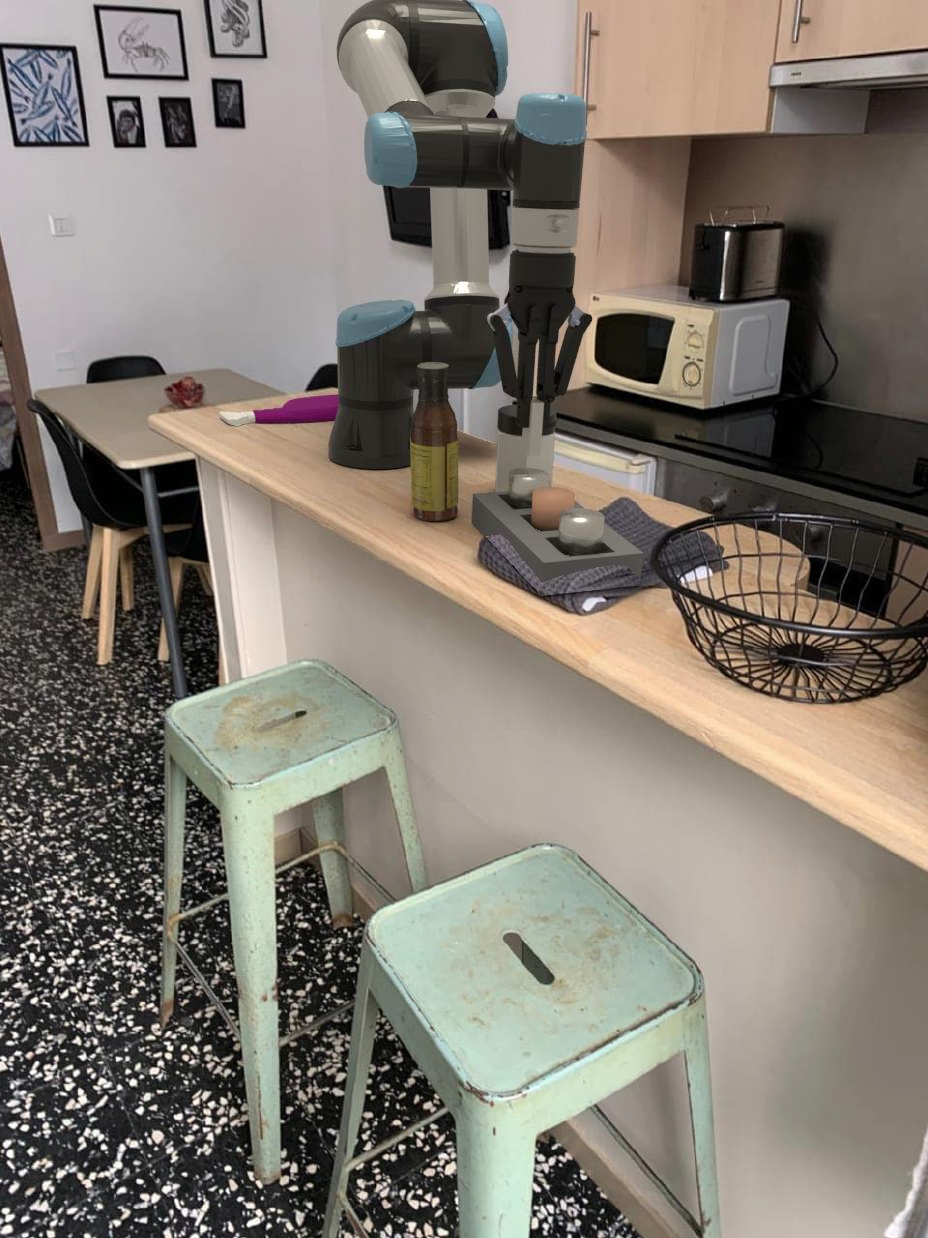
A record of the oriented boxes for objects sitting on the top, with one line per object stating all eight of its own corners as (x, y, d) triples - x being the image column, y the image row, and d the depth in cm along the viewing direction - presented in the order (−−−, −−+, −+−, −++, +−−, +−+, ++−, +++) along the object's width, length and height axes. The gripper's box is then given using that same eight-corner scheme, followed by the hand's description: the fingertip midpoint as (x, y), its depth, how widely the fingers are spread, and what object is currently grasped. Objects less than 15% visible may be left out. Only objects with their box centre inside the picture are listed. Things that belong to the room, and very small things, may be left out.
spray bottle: (365, 420, 172) (234, 434, 161) (343, 407, 180) (217, 420, 170) (365, 404, 170) (232, 417, 160) (343, 391, 179) (215, 404, 168)
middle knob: (524, 519, 114) (526, 488, 112) (562, 516, 115) (564, 485, 114) (540, 533, 110) (542, 501, 108) (579, 530, 111) (582, 498, 109)
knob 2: (550, 543, 107) (552, 509, 105) (589, 539, 108) (592, 506, 107) (567, 559, 103) (570, 524, 101) (608, 555, 104) (612, 521, 102)
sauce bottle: (445, 505, 129) (448, 358, 120) (466, 519, 124) (471, 367, 115) (401, 511, 126) (402, 360, 117) (421, 526, 121) (423, 370, 112)
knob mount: (471, 523, 122) (472, 493, 121) (556, 516, 126) (558, 487, 124) (541, 596, 102) (543, 562, 100) (639, 586, 105) (643, 553, 104)
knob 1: (502, 499, 121) (503, 469, 119) (537, 496, 122) (539, 466, 120) (515, 511, 116) (517, 480, 115) (552, 508, 118) (555, 478, 116)
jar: (553, 505, 130) (559, 419, 125) (494, 503, 130) (498, 417, 125) (548, 485, 138) (554, 404, 133) (493, 483, 138) (497, 402, 133)
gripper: (500, 251, 101) (491, 464, 111) (609, 252, 105) (591, 458, 115) (478, 246, 107) (471, 447, 117) (581, 247, 111) (566, 442, 121)
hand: (530, 452), depth 116 cm, fingers closed
